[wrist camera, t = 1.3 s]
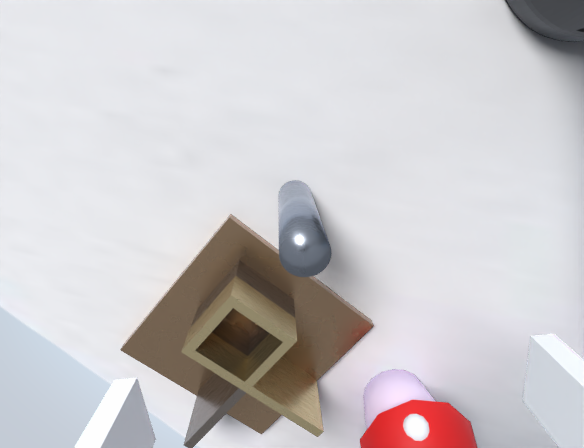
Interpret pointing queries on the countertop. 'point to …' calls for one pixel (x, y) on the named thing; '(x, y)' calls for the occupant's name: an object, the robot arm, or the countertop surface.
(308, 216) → the pin
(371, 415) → the mushroom
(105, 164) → the countertop surface
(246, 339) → the square socket plate
